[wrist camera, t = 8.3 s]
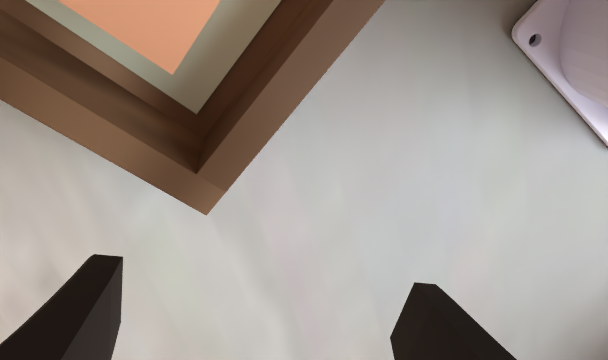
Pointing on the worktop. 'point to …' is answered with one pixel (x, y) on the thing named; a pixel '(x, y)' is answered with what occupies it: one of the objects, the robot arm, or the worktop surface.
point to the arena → (174, 85)
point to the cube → (150, 24)
